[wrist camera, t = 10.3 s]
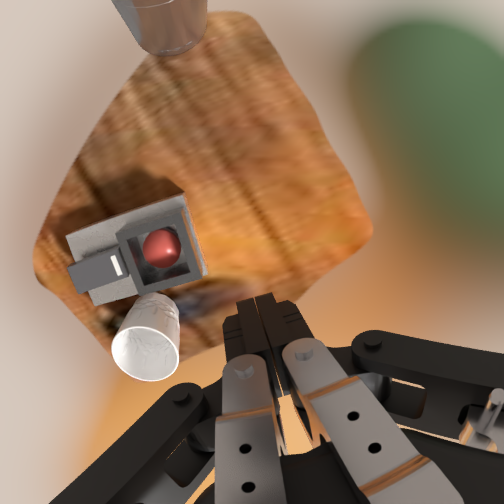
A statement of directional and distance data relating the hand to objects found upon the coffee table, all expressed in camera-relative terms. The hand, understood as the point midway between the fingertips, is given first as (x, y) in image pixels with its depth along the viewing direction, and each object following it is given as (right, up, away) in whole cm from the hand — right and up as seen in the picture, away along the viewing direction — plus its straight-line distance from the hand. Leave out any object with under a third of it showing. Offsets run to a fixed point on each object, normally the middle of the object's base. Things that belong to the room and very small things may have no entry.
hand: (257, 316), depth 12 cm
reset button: (-11, +3, +22) cm, 25 cm away
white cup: (-14, -6, +28) cm, 32 cm away
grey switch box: (-15, +3, +25) cm, 29 cm away
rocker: (-18, +1, +20) cm, 27 cm away
